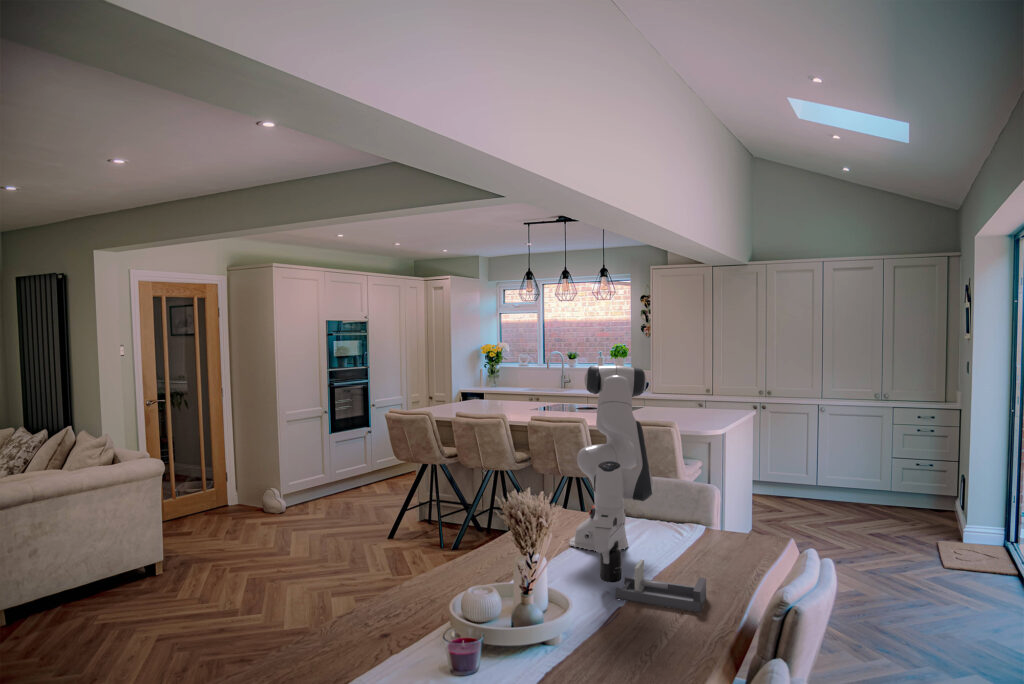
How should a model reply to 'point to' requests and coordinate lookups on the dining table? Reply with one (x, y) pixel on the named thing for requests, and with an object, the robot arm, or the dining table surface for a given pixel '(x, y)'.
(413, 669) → the dining table surface
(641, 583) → the pusher
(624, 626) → the dining table surface
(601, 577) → the supplement bottle
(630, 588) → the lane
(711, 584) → the dining table surface
